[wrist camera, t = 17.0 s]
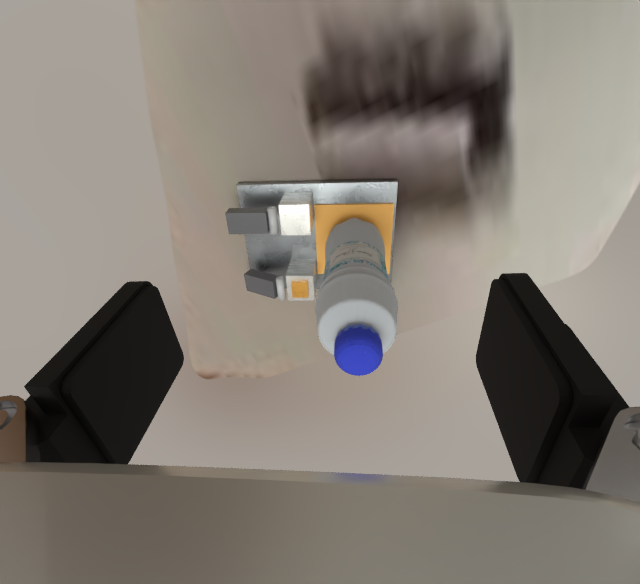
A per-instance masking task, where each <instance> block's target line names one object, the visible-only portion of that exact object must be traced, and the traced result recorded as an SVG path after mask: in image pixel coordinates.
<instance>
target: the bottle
mask: <svg viewBox="0 0 640 584" xmlns="http://www.w3.org/2000/svg"><path fill="white" fill-rule="evenodd" d="M315 312H316V320H317V332H318V337H319V339H320V342H321V344H322V345H323V346H324V348H325V349H326V350H327V351H328V352H329V353H331V354H332V355H334V357H335V360H336V362H337V364H338V366H339V367H340V368H341V369H342V370H343V371H345V372H347V373H349V374H352V375H359V376H360V375H366V374H369V373H371V372H373V371H374V370H375V369H377V368H378V366H379V365H380V363H381V361H382V356H383V353H385V352H386V351H387V350H388V349H389V348H390V347H391V345H392V344H393V342H394V340H395V337H396V333H397V313H398V302H397V298H396V295H395V291H394V288H393V286H392V284H391V283H390V281H389V280H388V275H387V269H386V263H385V246H384V241H383V238H382V236H381V234H380V232H379V230H378V229H377V227H376V226H375V225H374V224H372V223H369V222H366V221H363V220H360V219H358V218H350V219H349V220H347V221H345V222H343V223H340V224H337V225H335V226H334V227H333V229H332V230H331V232H330V234H329V236H328V238H327V241H326V246H325V270H324V278H323V283H322V284H321V286H320V288H319V291H318V295H317V299H316V303H315Z"/></svg>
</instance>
